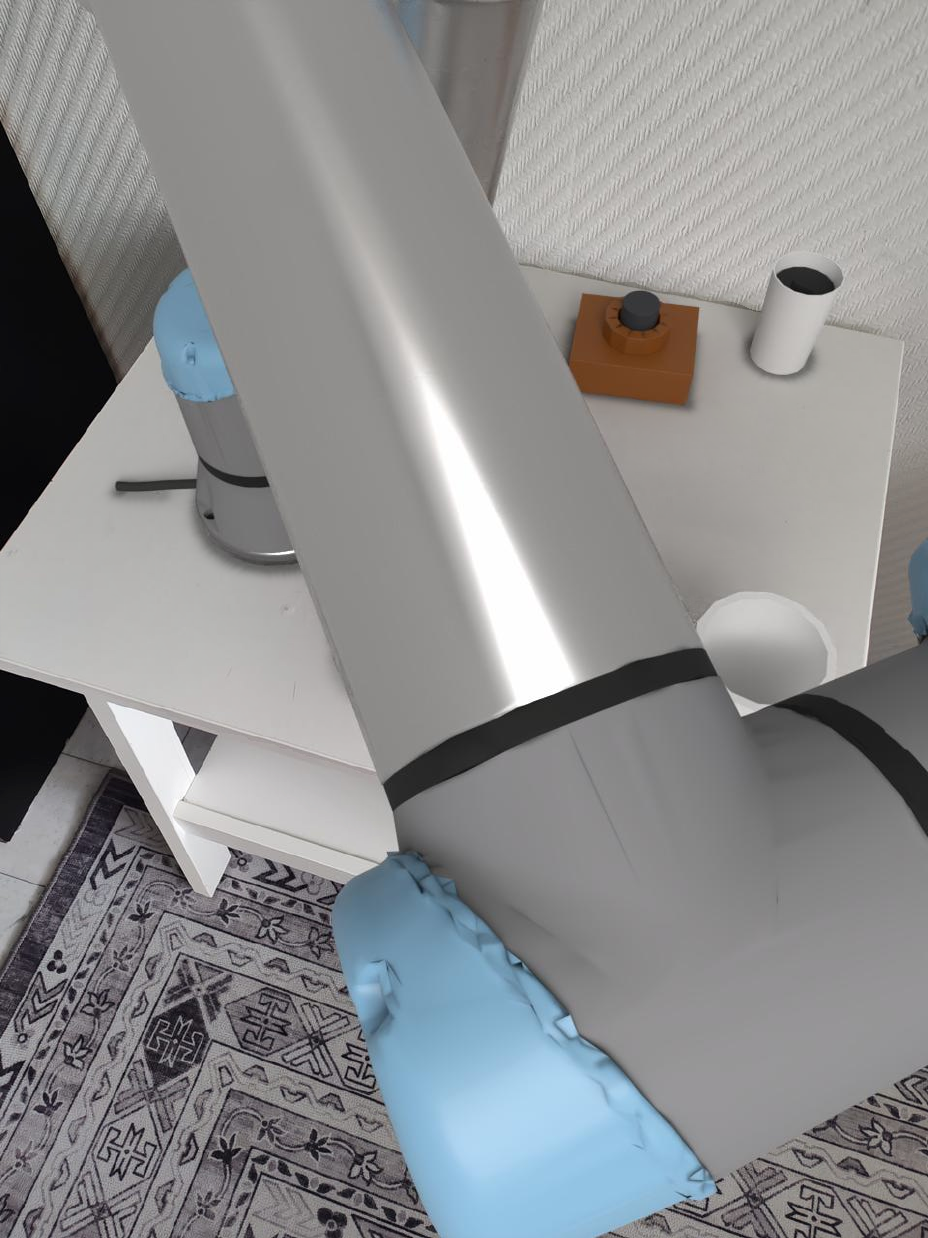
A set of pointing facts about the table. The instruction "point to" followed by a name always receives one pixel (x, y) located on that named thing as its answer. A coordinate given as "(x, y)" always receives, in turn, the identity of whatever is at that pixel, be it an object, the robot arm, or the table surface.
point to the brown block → (634, 352)
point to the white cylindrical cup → (795, 310)
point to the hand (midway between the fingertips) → (813, 734)
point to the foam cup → (766, 648)
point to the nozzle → (640, 310)
